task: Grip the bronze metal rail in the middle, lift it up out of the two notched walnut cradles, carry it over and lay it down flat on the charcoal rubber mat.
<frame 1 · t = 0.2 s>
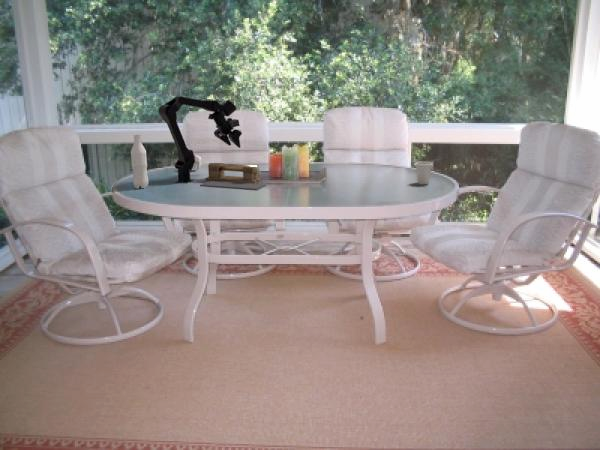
hand: (235, 146, 316), 15 cm above the table, tool tilted 30°, fingers open, 9 cm apart
rubber mat: (233, 185, 290), on the table
rail stand: (233, 180, 301), on the table
water bottle: (141, 188, 286), on the table
dixie cup: (423, 183, 295), on the table
penguin figurine: (191, 171, 330), on the table
bronze rail: (233, 167, 300), point 7 cm above the table, touching rail stand
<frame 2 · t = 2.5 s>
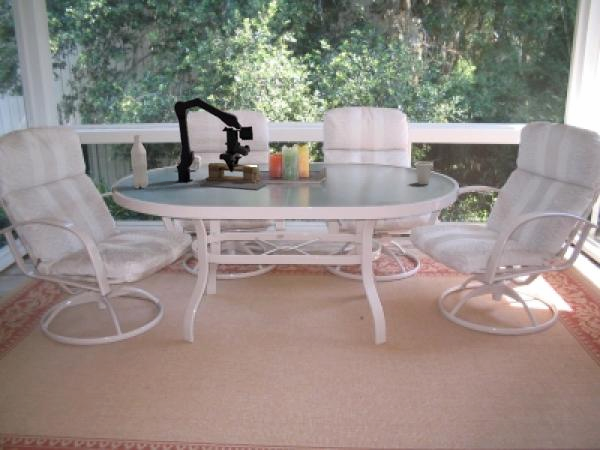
hand: (233, 171, 300), 5 cm above the table, tool pointing down, fingers closed on bronze rail, 3 cm apart
bronze rail: (233, 167, 300), point 7 cm above the table, touching gripper, rail stand
everything else where it was.
when the fingers open (2 cm above the table, at t = 7.4 s): bronze rail drops 1 cm, resting on rubber mat.
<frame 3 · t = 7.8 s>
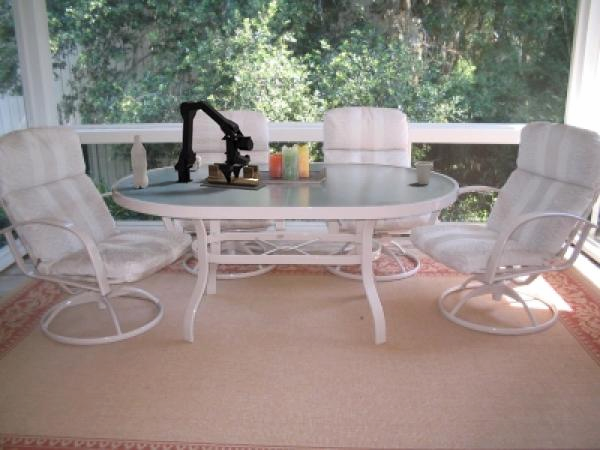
hand: (233, 181, 289), 2 cm above the table, tool pointing down, fingers open, 8 cm apart
bronze rail: (233, 181, 289), point 2 cm above the table, tilted 6°, touching rubber mat
everything else where it was.
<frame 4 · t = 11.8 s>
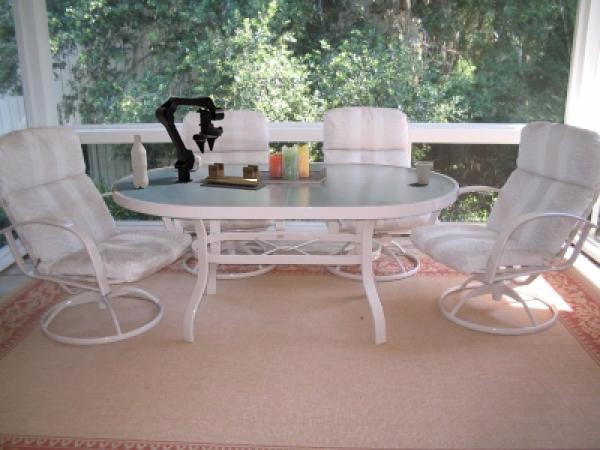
hand: (207, 152, 308), 13 cm above the table, tool pointing down, fingers open, 9 cm apart
bronze rail: (231, 181, 288), point 2 cm above the table, tilted 44°, touching rubber mat
everything else where it was.
at the end: bronze rail inside the target area on the rubber mat (1.3 cm from its centre), point 2.3 cm above the rubber mat's base; bronze rail point 2.3 cm above the table; the gripper is holding nothing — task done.
